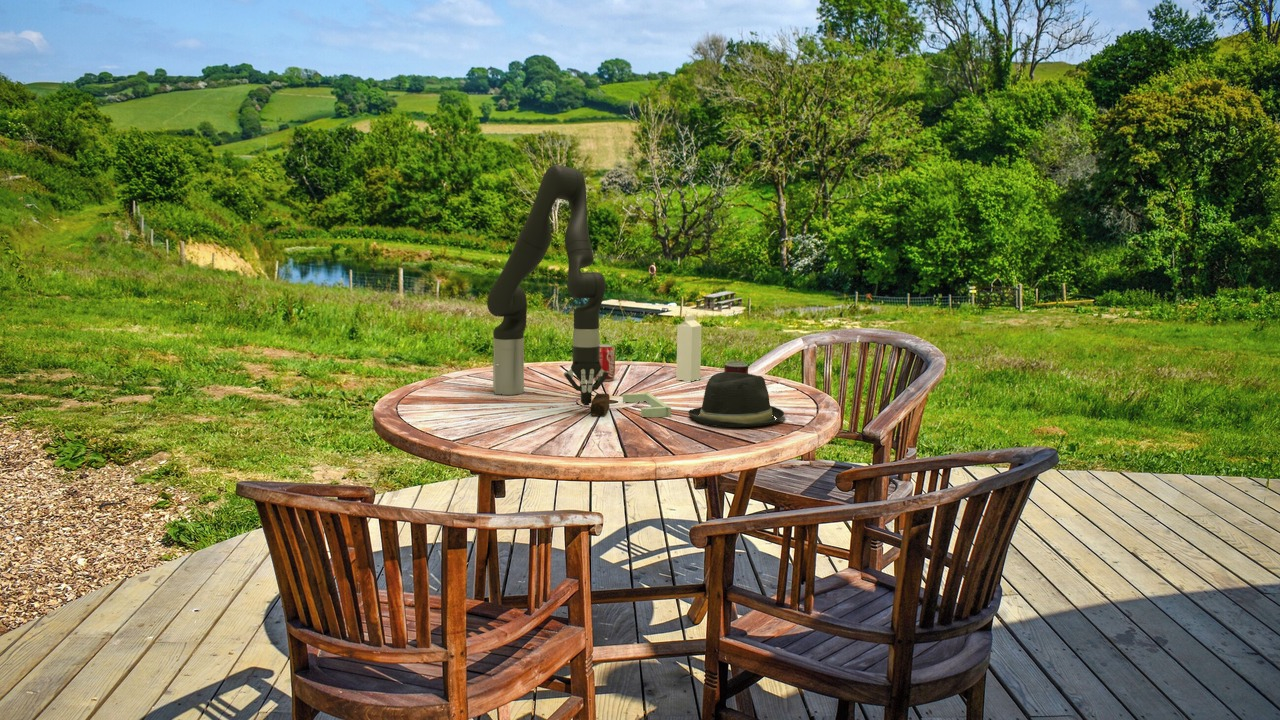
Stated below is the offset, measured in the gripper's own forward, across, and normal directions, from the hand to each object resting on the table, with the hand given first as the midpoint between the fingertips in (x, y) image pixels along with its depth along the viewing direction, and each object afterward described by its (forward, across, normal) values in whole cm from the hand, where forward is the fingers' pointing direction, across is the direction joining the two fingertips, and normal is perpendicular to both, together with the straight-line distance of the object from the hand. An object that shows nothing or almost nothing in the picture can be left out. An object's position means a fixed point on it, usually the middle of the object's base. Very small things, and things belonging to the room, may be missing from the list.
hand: (585, 404), depth 242 cm
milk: (+2, -44, -41) cm, 60 cm away
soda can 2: (+2, -47, -4) cm, 47 cm away
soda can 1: (+2, -16, -46) cm, 49 cm away
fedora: (+2, -39, +16) cm, 42 cm away
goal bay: (+2, -18, 0) cm, 18 cm away
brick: (+2, -4, +1) cm, 5 cm away
